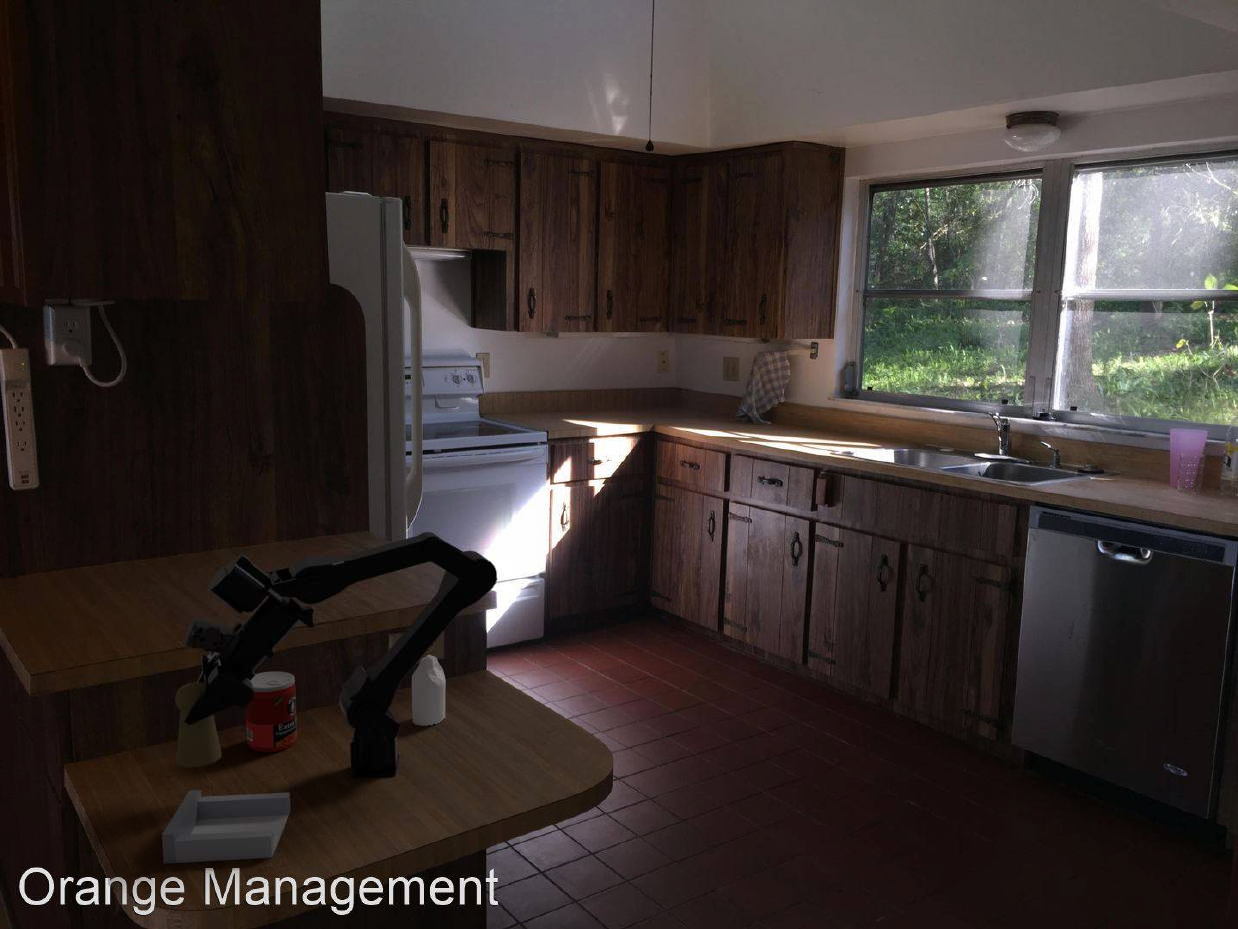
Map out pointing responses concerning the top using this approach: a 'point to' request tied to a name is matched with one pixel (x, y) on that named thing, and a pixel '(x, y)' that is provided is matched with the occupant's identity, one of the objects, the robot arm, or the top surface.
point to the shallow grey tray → (225, 827)
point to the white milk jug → (428, 692)
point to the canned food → (272, 712)
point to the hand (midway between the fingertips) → (185, 716)
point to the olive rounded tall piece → (195, 731)
